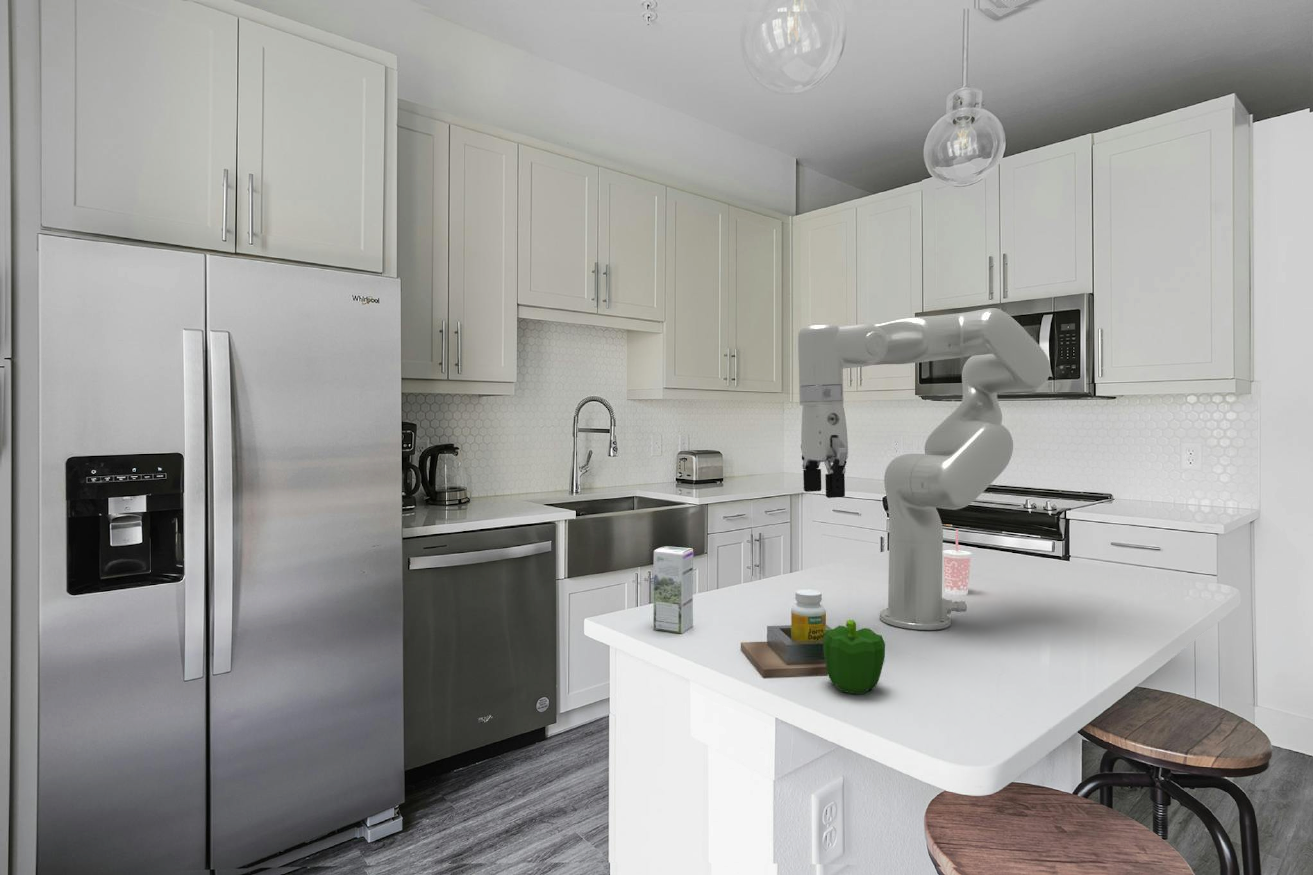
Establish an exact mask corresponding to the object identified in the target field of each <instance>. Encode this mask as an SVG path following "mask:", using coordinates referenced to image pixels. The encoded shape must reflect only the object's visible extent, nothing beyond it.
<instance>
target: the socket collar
mask: <svg viewBox="0 0 1313 875" xmlns="http://www.w3.org/2000/svg"><path fill="white" fill-rule="evenodd" d="M833 629H834V628H832V627H830V626H829V625H828V624H827V623H826V630H833ZM766 641H767V645H768V646H769V647H770V648H771V649H772V650H773V651H774V652H775V653H776V654H777V655H778V656H779V657H780V659H781V660H782V661H783V662H784V663H785V664H786V665H797V664H821V663H825V657H824V652H823V640H820V641H794V642H793V641H792V640H791V624H788V625H786V624H785V625H767V627H766Z"/></svg>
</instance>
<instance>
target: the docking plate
mask: <svg viewBox="0 0 1313 875" xmlns="http://www.w3.org/2000/svg"><path fill="white" fill-rule="evenodd" d="M740 651H741V652H742V653H743V654H744V656H745V657H746V659H747V660H749V662H750V663H751V665H753V666H754V669H755V670H756V671H757V672H758V673H759V674H760V675H761V677H762V678H764V679H765V678H785V677H786V678H787V677H788V678H789V677H808V676H828V672H827V667H826V663H821V664H797V665H786V664H785V663H784V662H783V661H782V660H781V659H780V657H779V656H778V655H777V654H776V653H775V652H774V651H773V650H772V649H771V648H770V647H769V646H768V645H767V640H765V641H749V642H747V641H745V642H744V641H742V642H740Z"/></svg>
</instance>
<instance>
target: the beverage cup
mask: <svg viewBox="0 0 1313 875" xmlns="http://www.w3.org/2000/svg"><path fill="white" fill-rule="evenodd" d="M942 558H943V570H944V571H943V572H944V590H945V591H944V592H945V593H946V594H949V595H955V596H956V595H957V596H965V595H968V592H969V579H970V568H971V567H970V566H971V558H972V552H971V551H968V550H967V551H966V550H960V549H959V529H955V549H945V550H943V557H942Z"/></svg>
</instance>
